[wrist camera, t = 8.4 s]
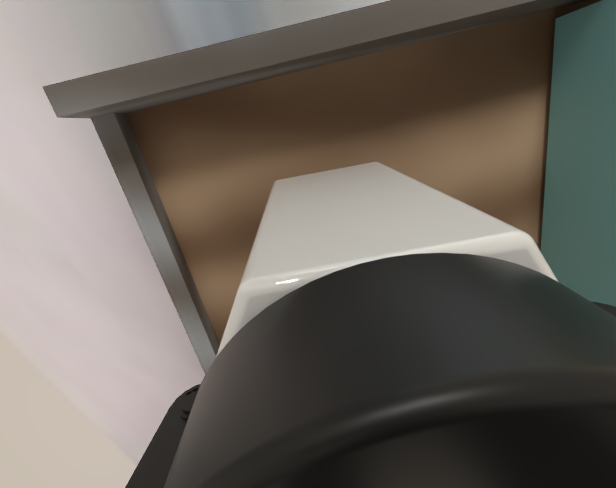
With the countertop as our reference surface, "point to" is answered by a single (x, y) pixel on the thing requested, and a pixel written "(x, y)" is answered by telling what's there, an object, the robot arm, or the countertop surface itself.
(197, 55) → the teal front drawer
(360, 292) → the jar
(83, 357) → the countertop surface
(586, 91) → the panel
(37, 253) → the countertop surface
